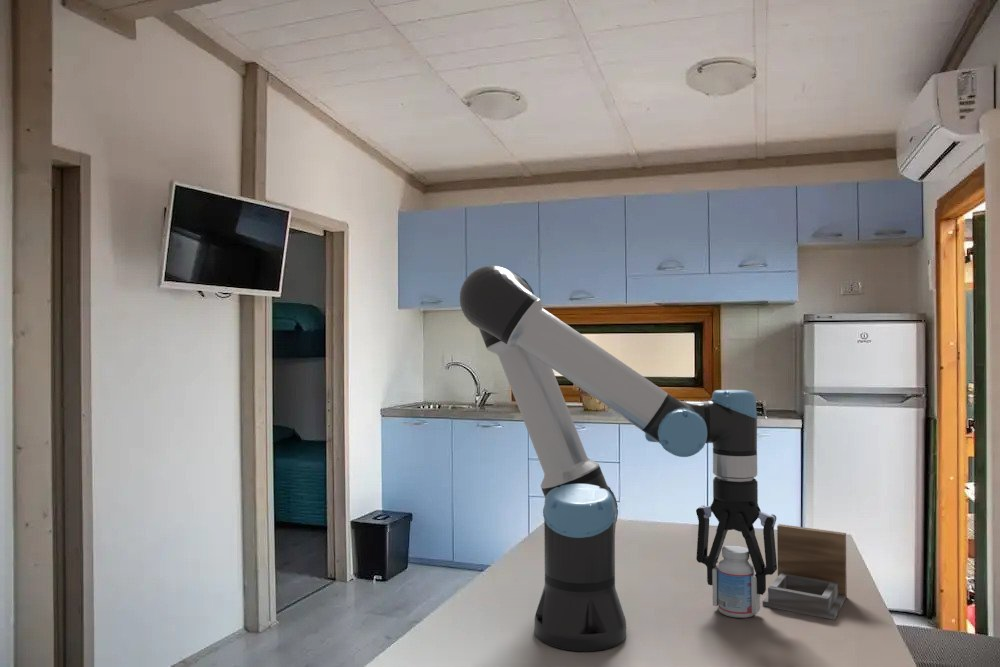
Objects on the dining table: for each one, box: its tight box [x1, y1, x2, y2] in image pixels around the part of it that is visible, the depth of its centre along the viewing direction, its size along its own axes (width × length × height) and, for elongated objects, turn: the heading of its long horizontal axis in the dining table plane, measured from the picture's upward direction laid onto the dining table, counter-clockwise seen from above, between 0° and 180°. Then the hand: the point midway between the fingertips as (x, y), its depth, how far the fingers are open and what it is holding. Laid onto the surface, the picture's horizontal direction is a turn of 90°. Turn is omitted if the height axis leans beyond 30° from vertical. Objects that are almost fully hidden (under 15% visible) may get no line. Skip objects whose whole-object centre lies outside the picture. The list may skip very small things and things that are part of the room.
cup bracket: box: [762, 523, 848, 621], centre depth 132 cm, size 13×12×12 cm
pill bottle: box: [717, 545, 755, 619], centre depth 126 cm, size 6×6×11 cm
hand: (736, 607), depth 126 cm, fingers closed on pill bottle, 6 cm apart
